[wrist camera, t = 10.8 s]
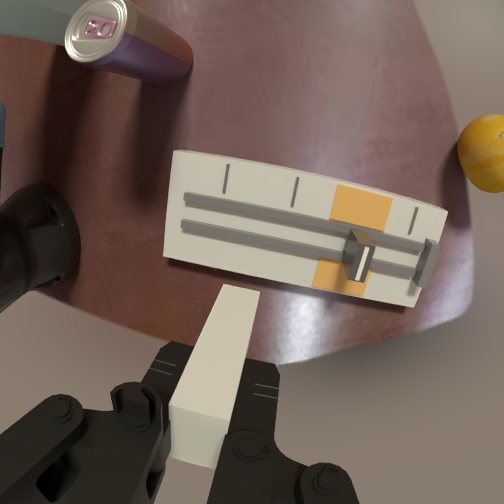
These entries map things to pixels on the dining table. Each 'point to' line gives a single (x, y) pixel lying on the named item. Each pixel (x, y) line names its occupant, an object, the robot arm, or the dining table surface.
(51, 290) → the dining table surface
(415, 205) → the console
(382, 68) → the dining table surface
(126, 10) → the beverage can
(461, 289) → the dining table surface
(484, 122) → the fruit
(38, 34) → the water bottle
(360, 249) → the fader
